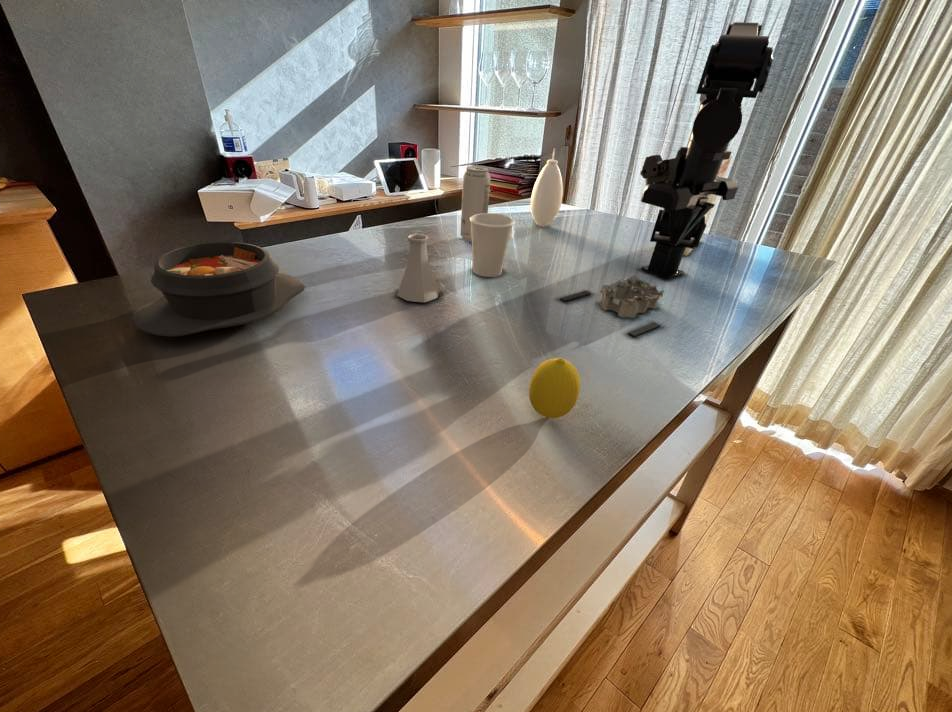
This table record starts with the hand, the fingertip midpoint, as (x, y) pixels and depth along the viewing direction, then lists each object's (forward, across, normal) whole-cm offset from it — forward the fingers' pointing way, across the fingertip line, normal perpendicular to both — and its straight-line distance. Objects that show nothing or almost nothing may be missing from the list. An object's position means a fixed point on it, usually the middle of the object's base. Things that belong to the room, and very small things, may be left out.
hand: (673, 245), depth 77 cm
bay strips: (+9, +14, 0) cm, 17 cm away
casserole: (+9, +68, -31) cm, 75 cm away
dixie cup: (+10, +21, -25) cm, 34 cm away
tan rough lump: (+10, +9, 0) cm, 13 cm away
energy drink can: (+10, +11, -43) cm, 45 cm away
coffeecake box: (+10, -33, -16) cm, 38 cm away
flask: (+10, +39, -22) cm, 45 cm away
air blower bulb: (+10, -13, -44) cm, 47 cm away
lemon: (+9, +44, +15) cm, 47 cm away
